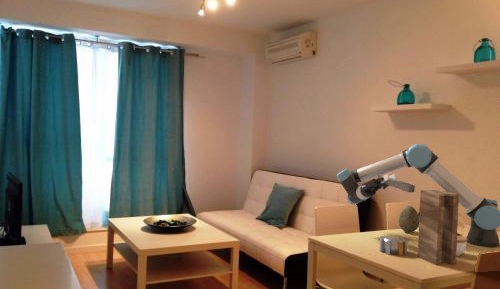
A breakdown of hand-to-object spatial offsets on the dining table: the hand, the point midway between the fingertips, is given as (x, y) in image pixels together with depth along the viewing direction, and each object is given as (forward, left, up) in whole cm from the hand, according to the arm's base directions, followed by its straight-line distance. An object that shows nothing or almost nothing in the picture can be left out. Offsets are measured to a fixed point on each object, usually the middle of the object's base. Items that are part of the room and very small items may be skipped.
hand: (391, 176), depth 201 cm
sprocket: (0, +4, -35) cm, 35 cm away
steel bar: (-1, +3, -4) cm, 5 cm away
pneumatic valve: (-45, -50, -35) cm, 76 cm away
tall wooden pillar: (-14, +17, -35) cm, 41 cm away
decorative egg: (-26, -34, -35) cm, 56 cm away
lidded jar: (-28, +7, -35) cm, 46 cm away
